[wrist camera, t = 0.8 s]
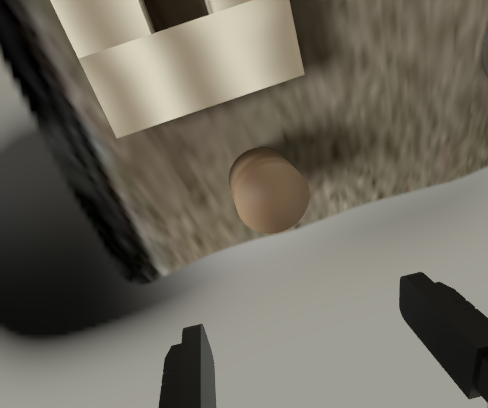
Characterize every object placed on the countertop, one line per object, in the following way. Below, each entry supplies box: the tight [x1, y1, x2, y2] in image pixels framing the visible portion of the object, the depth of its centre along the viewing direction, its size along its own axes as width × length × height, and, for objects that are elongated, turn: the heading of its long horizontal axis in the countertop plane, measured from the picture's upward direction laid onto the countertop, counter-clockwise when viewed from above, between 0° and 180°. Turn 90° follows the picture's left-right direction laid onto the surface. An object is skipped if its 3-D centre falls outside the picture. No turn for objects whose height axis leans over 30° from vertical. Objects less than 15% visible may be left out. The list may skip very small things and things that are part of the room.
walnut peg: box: [229, 148, 310, 233], centre depth 27 cm, size 5×5×10 cm
